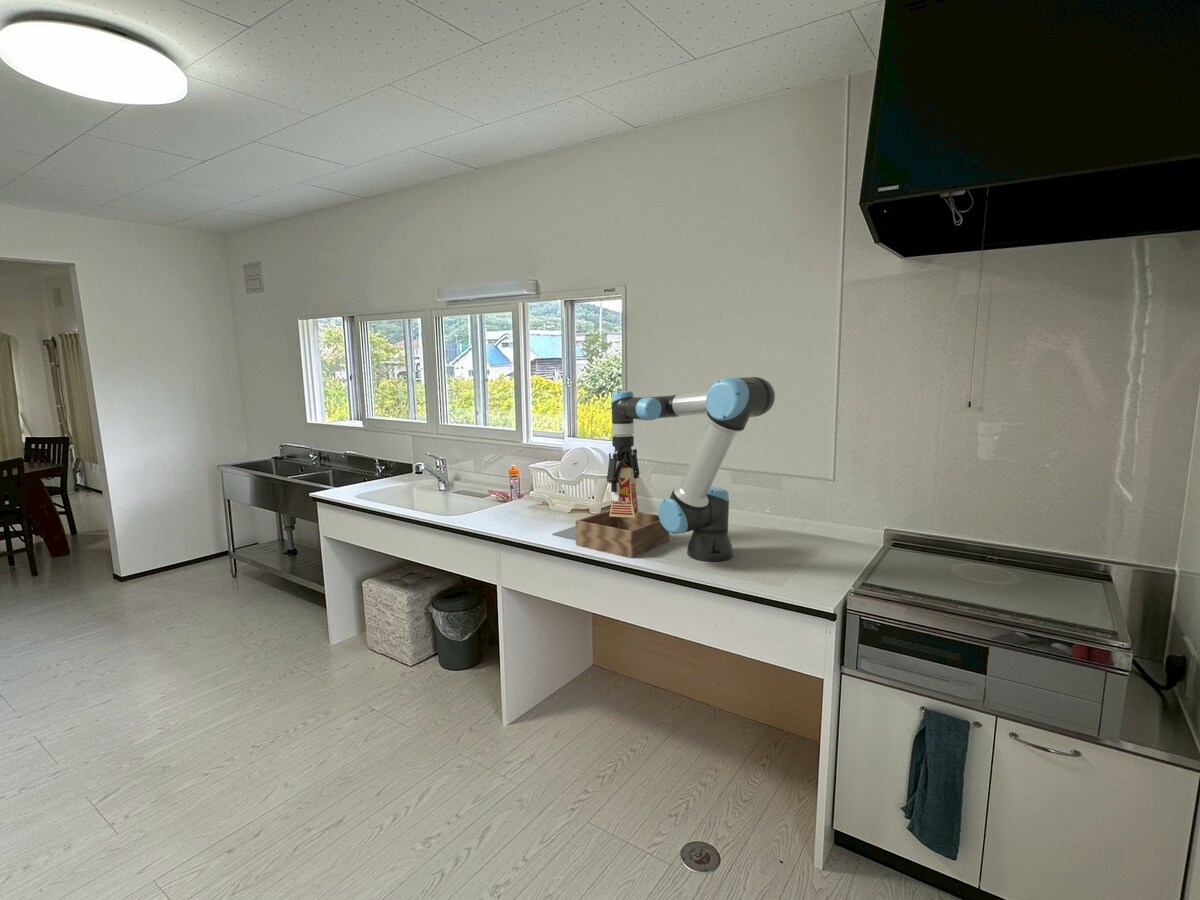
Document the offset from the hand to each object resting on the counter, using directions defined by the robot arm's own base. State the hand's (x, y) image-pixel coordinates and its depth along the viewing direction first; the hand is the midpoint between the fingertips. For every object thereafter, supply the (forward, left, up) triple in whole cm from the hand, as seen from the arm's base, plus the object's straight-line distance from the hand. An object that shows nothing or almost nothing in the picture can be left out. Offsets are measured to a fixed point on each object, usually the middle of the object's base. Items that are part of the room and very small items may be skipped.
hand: (623, 498), depth 217 cm
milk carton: (0, 0, -6) cm, 6 cm away
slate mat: (+21, 0, -17) cm, 27 cm away
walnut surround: (0, 0, -17) cm, 17 cm away
